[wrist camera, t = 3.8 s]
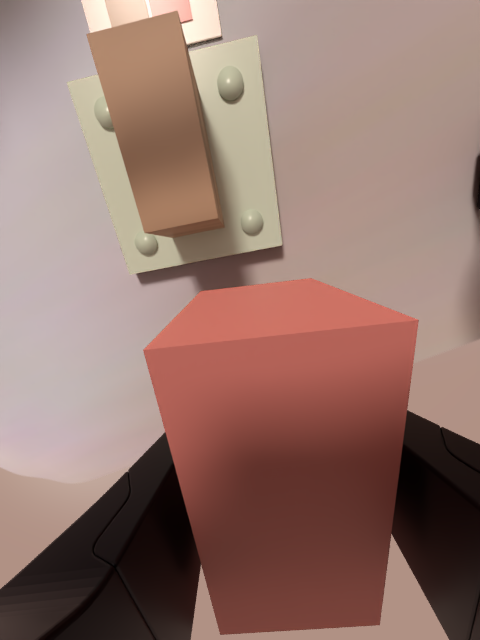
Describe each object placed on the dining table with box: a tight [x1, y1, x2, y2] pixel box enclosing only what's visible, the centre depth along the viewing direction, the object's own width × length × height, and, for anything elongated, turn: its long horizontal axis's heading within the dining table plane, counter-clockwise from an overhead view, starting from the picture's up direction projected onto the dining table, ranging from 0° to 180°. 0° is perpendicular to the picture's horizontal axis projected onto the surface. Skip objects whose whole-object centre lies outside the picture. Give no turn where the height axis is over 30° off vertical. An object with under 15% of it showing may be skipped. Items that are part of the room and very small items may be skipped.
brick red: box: [143, 278, 419, 635], centre depth 7 cm, size 8×4×5 cm, turn 7°
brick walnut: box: [86, 10, 225, 238], centre depth 13 cm, size 8×4×5 cm, turn 11°
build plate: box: [67, 35, 282, 275], centre depth 16 cm, size 12×12×1 cm
